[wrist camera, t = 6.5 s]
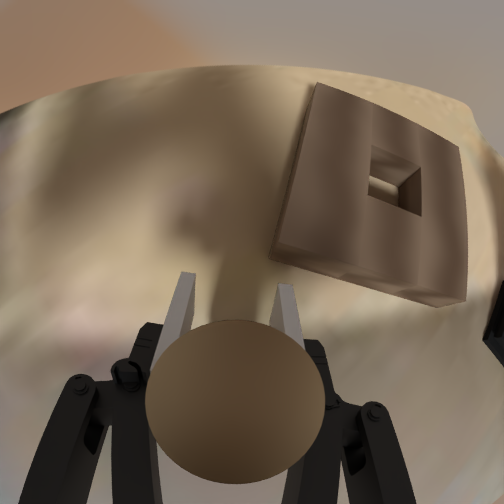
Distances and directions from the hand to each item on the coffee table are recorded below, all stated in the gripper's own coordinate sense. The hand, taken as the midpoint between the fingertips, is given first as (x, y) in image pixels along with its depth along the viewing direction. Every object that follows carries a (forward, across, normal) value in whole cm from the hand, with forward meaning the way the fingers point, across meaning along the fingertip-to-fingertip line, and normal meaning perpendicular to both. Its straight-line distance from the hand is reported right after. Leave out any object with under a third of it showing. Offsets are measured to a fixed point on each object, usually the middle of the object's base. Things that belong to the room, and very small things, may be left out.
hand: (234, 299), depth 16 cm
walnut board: (+11, +12, +4) cm, 16 cm away
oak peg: (0, 0, -6) cm, 6 cm away
